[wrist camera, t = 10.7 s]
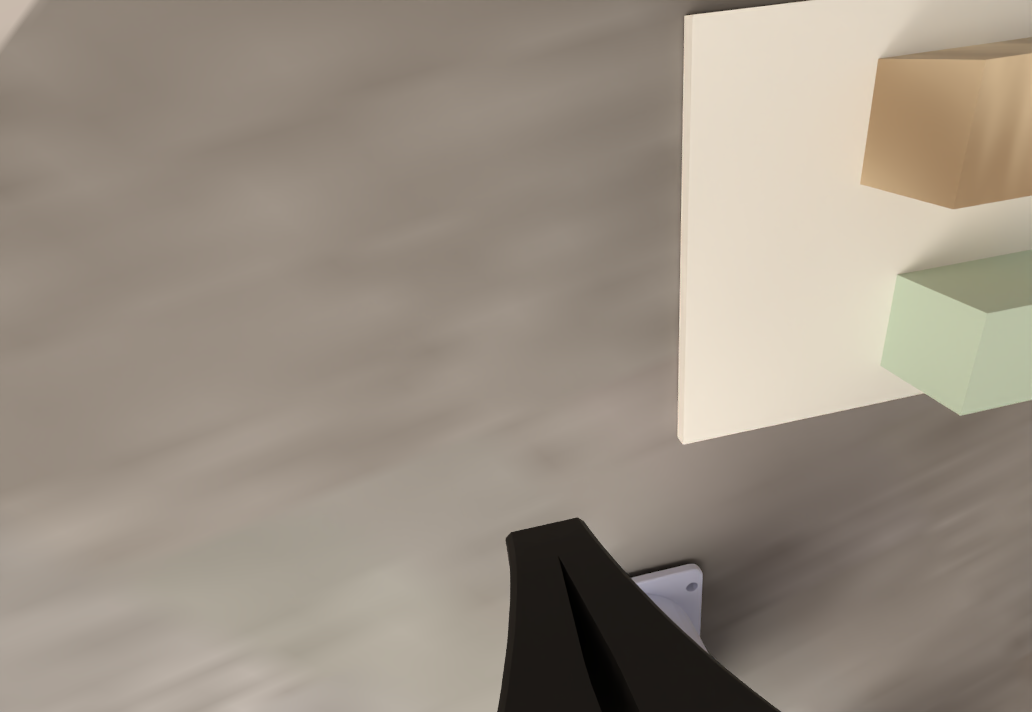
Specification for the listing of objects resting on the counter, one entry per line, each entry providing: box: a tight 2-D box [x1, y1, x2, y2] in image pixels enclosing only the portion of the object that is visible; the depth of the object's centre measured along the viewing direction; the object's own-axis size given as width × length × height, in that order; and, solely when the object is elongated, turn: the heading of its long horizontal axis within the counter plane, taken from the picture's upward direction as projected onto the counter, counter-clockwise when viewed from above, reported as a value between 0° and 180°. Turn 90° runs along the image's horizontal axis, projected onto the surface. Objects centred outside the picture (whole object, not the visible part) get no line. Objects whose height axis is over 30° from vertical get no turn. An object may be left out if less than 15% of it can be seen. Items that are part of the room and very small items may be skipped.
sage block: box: [880, 249, 1032, 416], centre depth 21 cm, size 4×4×7 cm
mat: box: [677, 0, 1032, 444], centre depth 21 cm, size 14×17×1 cm
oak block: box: [860, 37, 1032, 209], centre depth 17 cm, size 4×4×7 cm
